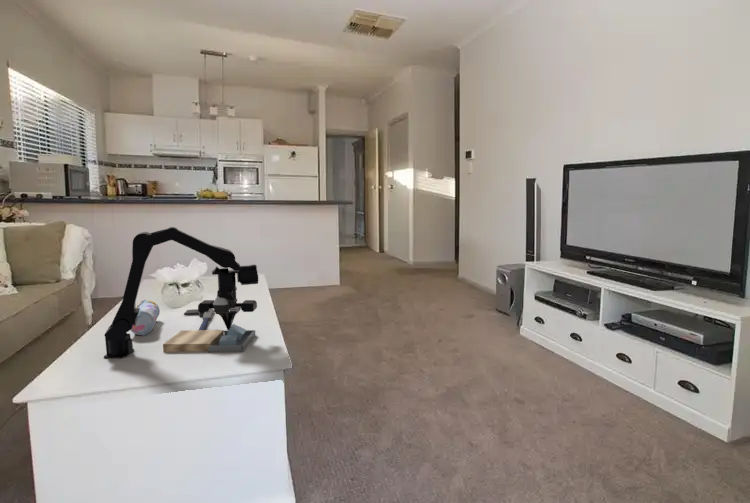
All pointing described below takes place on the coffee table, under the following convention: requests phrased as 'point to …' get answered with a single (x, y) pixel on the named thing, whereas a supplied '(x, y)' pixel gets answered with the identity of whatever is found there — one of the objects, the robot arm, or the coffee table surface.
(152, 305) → the pencil case
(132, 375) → the coffee table surface
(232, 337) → the tile near
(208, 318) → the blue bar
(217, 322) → the coffee table surface
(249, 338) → the tray
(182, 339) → the oak board
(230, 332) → the tile far
